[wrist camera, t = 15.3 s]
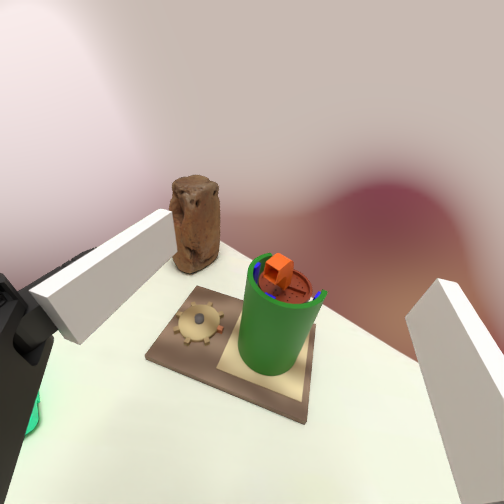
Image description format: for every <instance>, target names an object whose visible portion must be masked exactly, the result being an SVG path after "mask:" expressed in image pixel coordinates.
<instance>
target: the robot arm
mask: <svg viewBox="0 0 504 504" xmlns="http://www.w3.org/2000/svg"><path fill="white" fill-rule="evenodd" d="M176 252H178V251H177V244H176V237H175V230H174V223H173V215H172V211H168V210H164V209H158V210H157V211H155V212H153V213H152V214H150V215H149V216H147V217H145V218H144V219H142V220H141V221H139V222H137V223H136V224H134V225H133V226H131V227H129V228H128V229H126V230H125V231H123V232H121V233H120V234H118V235H117V236H115V237H113V238H112V239H110V240H109V241H107V242H105V243H104V244H102V245H101V246H99V247H95V248H92V249H90V250H87V251H85V252H82V253H80V254H79V255H77V256H75V257H74V258H72V259H71V261H67V262H66V263H64V264H63V265H62V266H61V267H57V268H56V269H54V270H52V271H51V272H49V273H47V274H46V275H44V276H42V277H41V278H39V279H38V280H36V281H34V282H33V283H31V284H29V285H28V286H26V287H24V288H23V289H21V290H19V291H16V289H15V288H14V287H13V286H12V284H11V283H10V282H9V281H8V279H7V278H6V277H5V276H4V275H3V274H2V273H0V504H4V502H5V498H6V495H7V492H8V489H9V485H10V482H11V479H12V476H13V472H14V469H15V466H16V463H17V459H18V456H19V453H20V450H21V446H22V443H23V440H24V437H25V433H26V430H27V427H28V424H29V420H30V417H31V414H32V411H33V407H34V404H35V401H36V398H37V394H38V391H39V388H40V385H41V381H42V378H43V375H44V372H45V368H46V365H47V362H48V359H49V355H50V352H51V349H52V346H53V342H54V337H53V336H52V334H54V333H55V332H56V331H57V330H59V332H60V333H61V334H62V336H63V337H64V338H65V339H67V340H69V341H72V342H74V343H76V344H79V345H81V344H82V343H83V342H84V341H85V340H86V339H87V338H88V337H89V336H90V335H91V334H92V333H93V332H94V331H95V330H96V329H97V328H98V327H100V326H101V325H102V324H103V323H104V322H105V321H106V320H107V319H108V318H109V317H110V316H111V315H112V314H113V313H114V312H115V311H116V310H117V309H118V308H119V307H120V306H121V305H122V304H123V303H124V302H126V301H127V300H128V299H129V298H130V297H131V296H132V295H133V294H134V293H135V292H136V291H137V290H138V289H139V288H140V287H141V286H142V285H143V284H144V283H145V282H146V281H147V280H148V279H149V278H150V277H152V276H153V275H154V274H155V273H156V272H157V271H158V270H159V269H160V268H161V267H162V266H163V265H164V264H165V263H166V262H167V261H168V260H169V259H170V258H171V257H172V256H173V255H174V254H175V253H176ZM405 319H406V323H407V326H408V329H409V332H410V336H411V339H412V343H413V345H414V349H415V352H416V356H417V359H418V362H419V366H420V369H421V372H422V375H423V379H424V382H425V385H426V389H427V392H428V395H429V399H430V402H431V405H432V408H433V412H434V415H435V418H436V422H437V425H438V428H439V431H440V435H441V438H442V441H443V445H444V448H445V451H446V455H447V458H448V461H449V464H450V468H451V471H452V474H453V478H454V481H455V484H456V487H457V491H458V494H459V497H460V501H461V504H504V355H503V354H502V352H501V351H500V349H499V348H498V346H497V344H496V343H495V341H494V340H493V338H492V337H491V335H490V333H489V332H488V330H487V329H486V327H485V326H484V324H483V323H482V321H481V319H480V318H479V316H478V315H477V313H476V312H475V310H474V308H473V307H472V305H471V304H470V302H469V301H468V299H467V298H466V296H465V294H464V293H463V291H462V290H461V288H460V287H459V285H458V284H457V283H455V282H451V281H447V280H443V279H439V278H437V279H436V281H435V282H434V283H433V284H432V285H431V286H430V288H429V289H428V290H427V291H426V292H425V294H424V295H423V296H422V297H421V298H420V300H419V301H418V302H417V303H416V305H415V306H414V307H413V308H412V309H411V310H410V312H409V313H408V314H407V315H406V316H405Z"/></svg>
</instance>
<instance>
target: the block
mask: <svg viewBox="0 0 504 504" xmlns="http://www.w3.org/2000/svg"><path fill="white" fill-rule="evenodd" d="M172 191H173V194H172V199H171V201H170V206H169V211H172V215H173V223H174V230H175V237H176V244H177V251H178V252H176V253H175V254H174V255H173V256H172V258H173V260H174V262H175V264H176V266H177V267H178V269H179V270H181V271H183V272H186V273H192V272H195V271H197V270H200V269H203V268H204V267H206V266H207V265H209V264H211V263H212V262H213V261H214V260H215V259H216V258H217V256H218V253H219V245H220V201H219V198H218V191H219V186H218V184H217V183H216V182H213V181H210V180H209V179H208V178H207V177H204V176H201V175H192V176H188V177H181V178H179V179H177V180H175V181H174V182H173V183H172Z"/></svg>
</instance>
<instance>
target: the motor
mask: <svg viewBox="0 0 504 504" xmlns="http://www.w3.org/2000/svg"><path fill="white" fill-rule="evenodd" d="M293 268H294V262H293V261H292V260H290V259H288V258H287V257H285V256H283V255H281V254H280V253H277V254H275V255H274V256H272V254H271V253H267V254H263V255H261V256H259V257H257V258H255V259H254V260H253V261H252V262H251V264H250V265H249V268H248V273H247V280H246V287H245V294H244V301H243V308H242V315H241V322H240V329H239V336H238V350H239V354H240V356H241V358H242V360H243V361H244V363H245V364H246V365H247V366H248V367H249V368H250V369H252V370H253V371H255V372H257V373H259V374H262V375H266V376H277V375H281V374H283V373H285V372H287V371H288V370H290V369H291V368H292V366H293V365H294V364H295V362H296V360H297V357H298V355H299V353H300V351H301V349H302V347H303V344H304V342H305V340H306V338H307V336H308V334H309V332H310V329H311V327H312V325H313V323H314V321H315V319H316V317H317V314H318V312H319V310H320V308H321V306H322V304H323V301H324V299H325V297H326V295H327V291H325V290H322V291H321V292H318V293H317V294H316V296H315V297H314V299H313V301H310V302H309V300H310V297H311V295H312V286H311V283H310V281H309V280H308V279H307V278H306V277H305V276H304V275H303V274H302V273H300V272H299V271H296V270H294V269H293Z"/></svg>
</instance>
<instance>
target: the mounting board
mask: <svg viewBox="0 0 504 504" xmlns="http://www.w3.org/2000/svg"><path fill="white" fill-rule="evenodd" d="M242 308H243V300H240V299H237V298H234V297H231V296H228V295H225V294H222V293H219V292H215V291H212V290H209V289H206V288H203V287H200V286H196V287H195V289H194V290H193V291H192V293H191V294H190V295H189V297H188V298H187V299H186V301H185V302H184V303H183V305H182V306H181V307H180V309H179V310H178V311H177V313H176V314H175V315H174V317H173V318H172V319H171V321H170V322H169V323H168V325H167V326H166V327H165V329H164V330H163V331H162V333H161V334H160V335H159V337H158V338H157V339H156V341H155V342H154V343H153V345H152V346H151V347H150V349H149V350H148V351H147V353H146V354H145V358H146V359H147V360H149V361H152V362H154V363H156V364H159V365H161V366H164V367H166V368H168V369H171V370H173V371H176V372H178V373H181V374H183V375H185V376H188V377H190V378H193V379H195V380H197V381H200V382H202V383H205V384H207V385H210V386H212V387H214V388H217V389H219V390H222V391H224V392H226V393H229V394H231V395H234V396H236V397H239V398H241V399H243V400H246V401H248V402H251V403H253V404H256V405H258V406H260V407H263V408H265V409H268V410H270V411H272V412H275V413H277V414H280V415H282V416H285V417H287V418H289V419H292V420H294V421H297V422H299V423H301V424H304V425H305V423H306V422H307V413H308V402H309V392H310V381H311V371H312V360H313V349H314V339H315V328H316V324H313V325H312V327H311V329H310V332H309V334H308V336H307V338H306V340H305V342H304V344H303V347H302V349H301V351H300V353H299V355H298V357H297V360H296V362H295V364H294V365H293V366H292V368H291V369H290V370H288V371H287V372H285V373H283V374H281V375H277V376H266V375H262V374H259V373H257V372H255V371H253V370H252V369H250V368H249V367H248V366H247V365H246V364H245V363H244V361H243V360H242V358H241V356H240V354H239V350H238V336H239V329H240V322H241V315H242Z"/></svg>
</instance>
